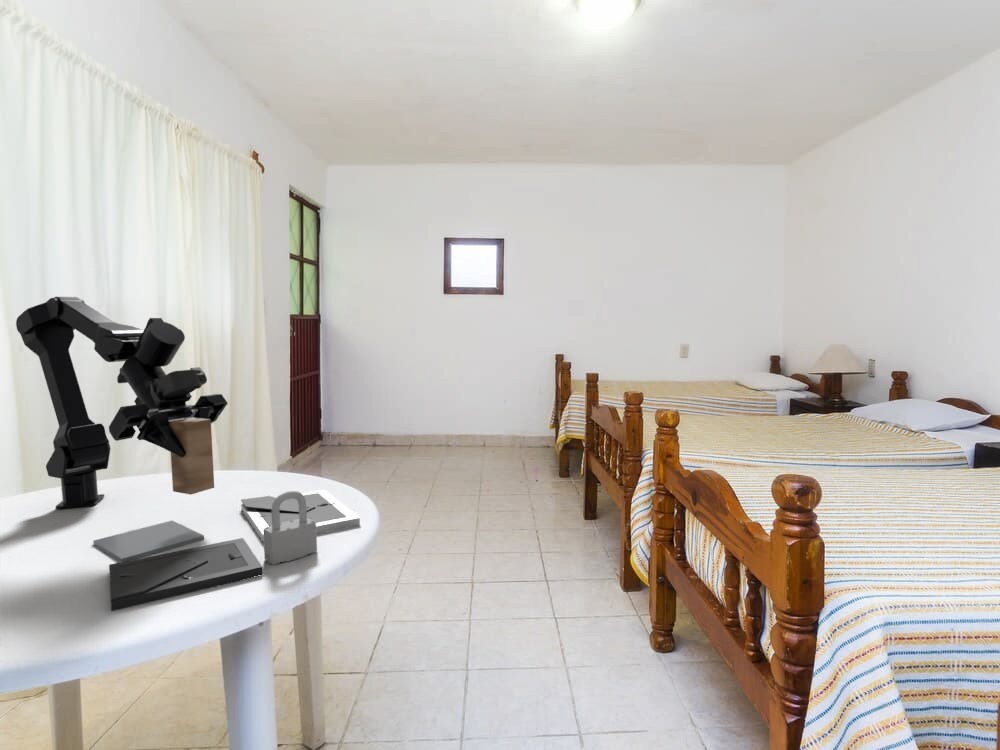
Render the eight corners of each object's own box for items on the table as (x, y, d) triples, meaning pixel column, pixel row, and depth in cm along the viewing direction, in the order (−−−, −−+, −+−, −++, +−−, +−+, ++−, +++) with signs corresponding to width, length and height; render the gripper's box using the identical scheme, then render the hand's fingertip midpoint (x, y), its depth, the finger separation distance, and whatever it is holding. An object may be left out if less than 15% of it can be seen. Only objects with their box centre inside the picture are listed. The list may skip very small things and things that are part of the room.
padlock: (274, 567, 86) (270, 499, 85) (262, 559, 89) (259, 494, 88) (319, 553, 91) (316, 489, 90) (307, 546, 94) (304, 484, 93)
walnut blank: (173, 491, 100) (168, 421, 99) (196, 484, 104) (193, 417, 103) (190, 494, 98) (186, 423, 97) (214, 487, 102) (210, 419, 101)
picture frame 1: (111, 616, 73) (263, 579, 83) (110, 599, 73) (262, 564, 83) (109, 577, 84) (243, 549, 94) (108, 562, 84) (243, 535, 94)
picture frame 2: (241, 514, 112) (264, 549, 94) (240, 499, 112) (263, 531, 94) (324, 499, 120) (360, 529, 103) (324, 486, 120) (359, 513, 103)
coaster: (93, 544, 95) (93, 540, 95) (172, 523, 104) (172, 520, 104) (122, 562, 88) (121, 558, 88) (204, 538, 97) (204, 535, 97)
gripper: (114, 356, 93) (164, 431, 89) (218, 350, 109) (263, 413, 105) (88, 403, 97) (135, 476, 93) (191, 390, 113) (234, 452, 110)
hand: (196, 452), depth 100 cm, fingers closed on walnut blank, 4 cm apart
